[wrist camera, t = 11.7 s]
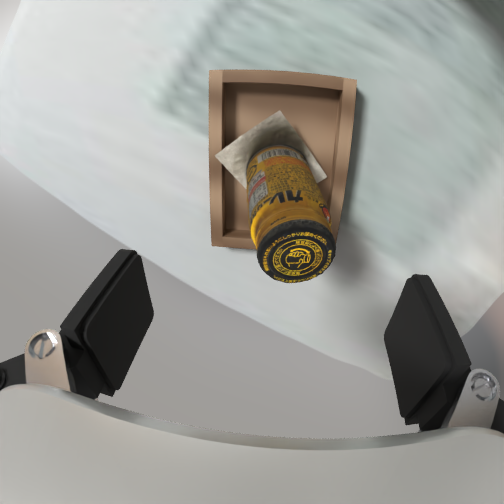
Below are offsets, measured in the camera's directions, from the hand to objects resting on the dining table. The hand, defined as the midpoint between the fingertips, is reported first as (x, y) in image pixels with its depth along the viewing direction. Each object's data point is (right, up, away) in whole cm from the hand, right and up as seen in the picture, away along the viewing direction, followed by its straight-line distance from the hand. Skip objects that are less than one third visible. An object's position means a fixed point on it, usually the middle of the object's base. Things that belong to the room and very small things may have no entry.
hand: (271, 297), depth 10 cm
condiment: (+1, +10, +17) cm, 20 cm away
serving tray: (+2, +11, +19) cm, 22 cm away
